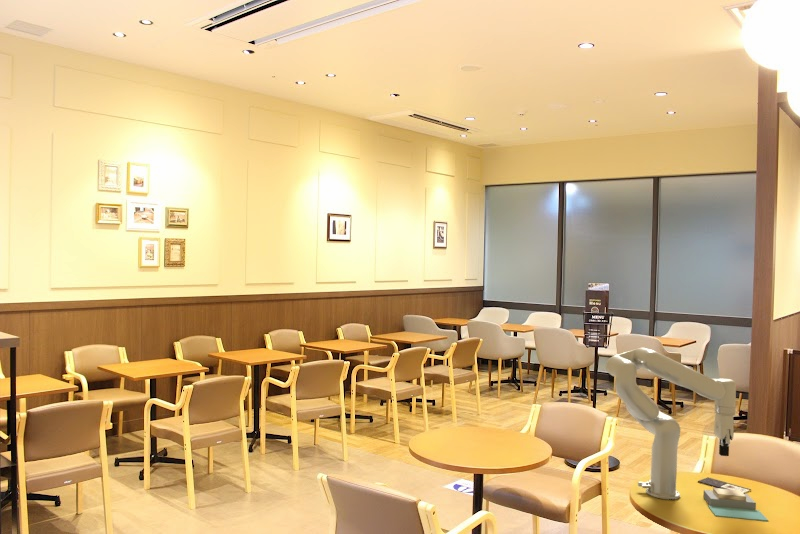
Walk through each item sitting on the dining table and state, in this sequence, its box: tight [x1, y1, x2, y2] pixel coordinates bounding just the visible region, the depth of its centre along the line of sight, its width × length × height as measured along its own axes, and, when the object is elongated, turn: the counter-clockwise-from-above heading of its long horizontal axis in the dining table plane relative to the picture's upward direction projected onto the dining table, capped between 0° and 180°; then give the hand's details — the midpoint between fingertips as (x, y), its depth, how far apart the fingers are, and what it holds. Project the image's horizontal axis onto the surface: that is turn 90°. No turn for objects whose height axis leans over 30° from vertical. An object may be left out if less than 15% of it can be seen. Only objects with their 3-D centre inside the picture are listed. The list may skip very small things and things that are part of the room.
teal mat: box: [707, 504, 770, 522], centre depth 246 cm, size 18×10×1 cm, turn 80°
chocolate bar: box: [697, 476, 752, 494], centre depth 277 cm, size 9×1×18 cm
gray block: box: [703, 489, 757, 510], centre depth 256 cm, size 16×10×3 cm, turn 80°
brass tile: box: [712, 487, 746, 501], centre depth 256 cm, size 10×7×2 cm
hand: (723, 455), depth 266 cm, fingers closed
